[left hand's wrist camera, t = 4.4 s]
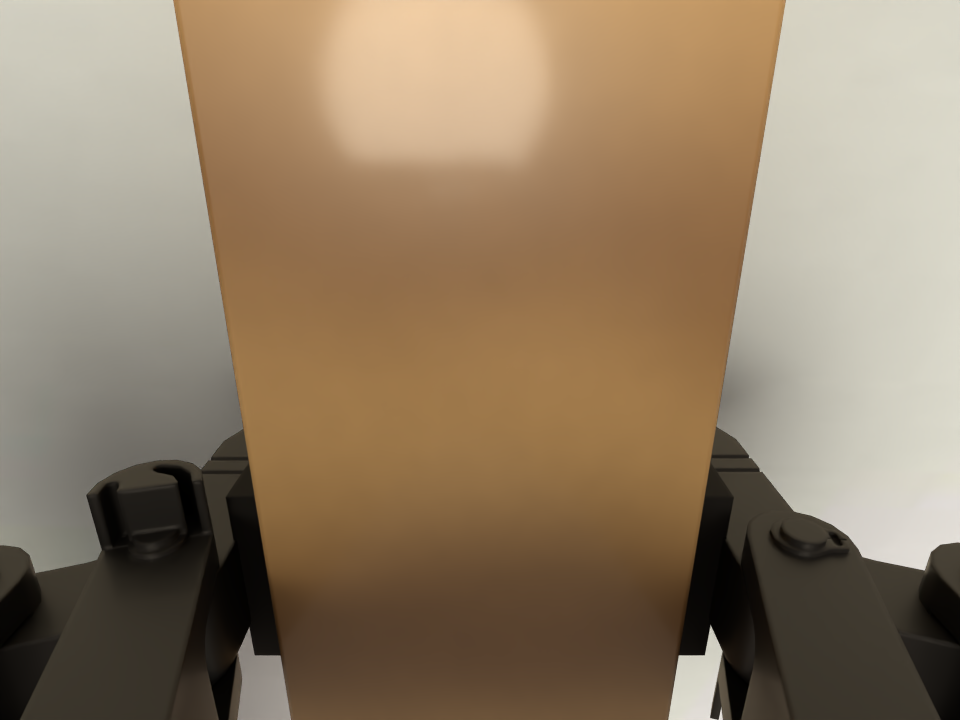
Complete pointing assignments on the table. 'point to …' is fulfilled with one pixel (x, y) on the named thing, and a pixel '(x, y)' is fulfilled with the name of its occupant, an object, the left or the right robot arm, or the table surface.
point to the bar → (479, 331)
